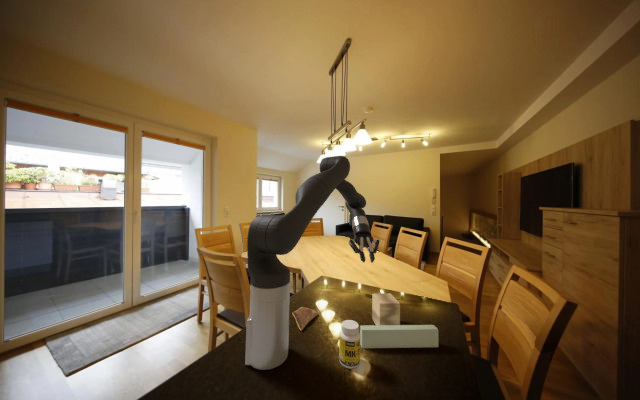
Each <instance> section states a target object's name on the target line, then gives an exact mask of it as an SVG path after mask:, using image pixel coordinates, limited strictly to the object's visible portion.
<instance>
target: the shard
mask: <svg viewBox="0 0 640 400" xmlns="http://www.w3.org/2000/svg"><path fill="white" fill-rule="evenodd" d="M291 314H292V316H293V318H294V319H295V322H296V325H297V328H298V329H299V330H300V331H301V332H302V331H303V330H304V329H305V328H306V326H307V325H308V324H309V323H310V322H311V321H312V320H313V319H315V318H316V317H317V316H318V315H319V312H317V311H316V310H314V309H312V308H309V307H305V306H301V307H299V308H298V309H296V310H295V311H292V313H291Z"/></svg>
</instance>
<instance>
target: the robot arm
mask: <svg viewBox="0 0 640 400" xmlns="http://www.w3.org/2000/svg"><path fill="white" fill-rule="evenodd" d="M350 169H351V163H350V160H349V159H348V157H346V156H344V155H336V156H335V155H334V156H327V157H324V158H322V159H321V160H320V162H319V172H318V173H316V174H314V175H311V176H310V177H309V178H307V179H306V180H305V181H303V182H302V184H301V185H299V187H298V188H297V190H296V191H295V205H294V206H293V207H292V208H291V210H289V211H288V212H287V213H285V214H282V215H279V214H277V215H276V214H260V215H257V216H255V217H254V218H253V220H252V221H251V222H250V224H249V227H248V231H247V239H246V241H247V242H246V245H247V246H246V247H247V249H246V251H247V256H246V257H247V270H248V273H249V276H250V293H249V294H250V296H249V297H250V298H249V299H250V300H249V315H248V318H247V320H246V325H245V326H246V330H245V331H246V332H245V333H246V335H245V354H244V355H245V356H244V357H245V358H244V359H245V361H244V363H245V364H244V365H245V366H251V367H252V368H253V369H256V370H260V371H263V370H264V371H266V370H272V369H275V368H277V367H279V366H281V365H282V364H283V363H284V362H285V361H286V360H287V358H288V356H289V339H290V337H289V334H290V330H289V329H290V303H291V302H290V300H291V299H290V295H291V293H290V292H291V270H290V269H289V267H288V266H286V264H284V263H283V262H282V261H281V260H280V259H279V258H278V255H279V256H284V255H287V254H289V253H291V252H292V251H293V250H294V249H295V247H296V246H297V244H298V243H299V241H300V240H301V238H302V236H303V235H304V234H305V231H306V230H307V228H308V226H309V224H310V222H312V220H313V219H314V217H315V215H316V214H317V212H318V211H319V210H320V208H322V206H324V204H325V202H326V201H327V200H328V198H329V197H330V196H331V194H332V193H333V192H334V191H335V190H336V191H337V192H339V194H340V195H341V196H342V198H343V199H344V200H345V207H346V209H347V211H348V212H349V215H350V217H351V218H350V219H351V223H352V224H351V226H352V228H351V229H352V231H353V236H354V237H353V239H351V238H350V239H349V240H348V245H349V246H350V248H351V249H352V251H353V252H354V253H355V254H358V255H359V258H360V261H361V262H362V263H365V262H366V256H365V252H364V248H365V249H366V251H368V253H369V254H368V256H369V260H370V263H374V261H375V260H376V258H375V254H376V253H377V252H378V249H379V245H380V239H374V237H373V236H372V232H371V229H370V228H371V227H370V224H369V221H368V219H367V216H366V212H365V210H364V208H365V207H366V206H367V200H366V198H365V197H364V195H362V194H361V193H359V192H358V191H357V189H356V187H355V186H354V185H353V184H352V183H351V182H349V181H348V180H346V179H347V177H348V176H349V174H350V172H351V170H350ZM373 245H374V248H373Z"/></svg>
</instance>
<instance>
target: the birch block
mask: <svg viewBox="0 0 640 400" xmlns="http://www.w3.org/2000/svg"><path fill="white" fill-rule="evenodd" d="M371 296H372V298H371V301H372V302H371V305H372V307H371V319H372V321H373V322H374V324H375V325H401V303H400V302H399V300H397V299H396V298H395V297H394V295H392V293H382V292H381V293H375V292H374V293H372V295H371Z"/></svg>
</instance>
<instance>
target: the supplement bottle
mask: <svg viewBox="0 0 640 400" xmlns="http://www.w3.org/2000/svg"><path fill="white" fill-rule="evenodd" d="M338 343H339V346H338V347H339V351H338V360H339V363H340V364H341V366H342V367H344V368H346V369H352V370H353V369H355V368H357V367H359V366H360V364H361V344H360V325H359V323H358V322H357V321H355V320H352V319H346V320H343V321H341V330H340V331H339V342H338Z"/></svg>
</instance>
